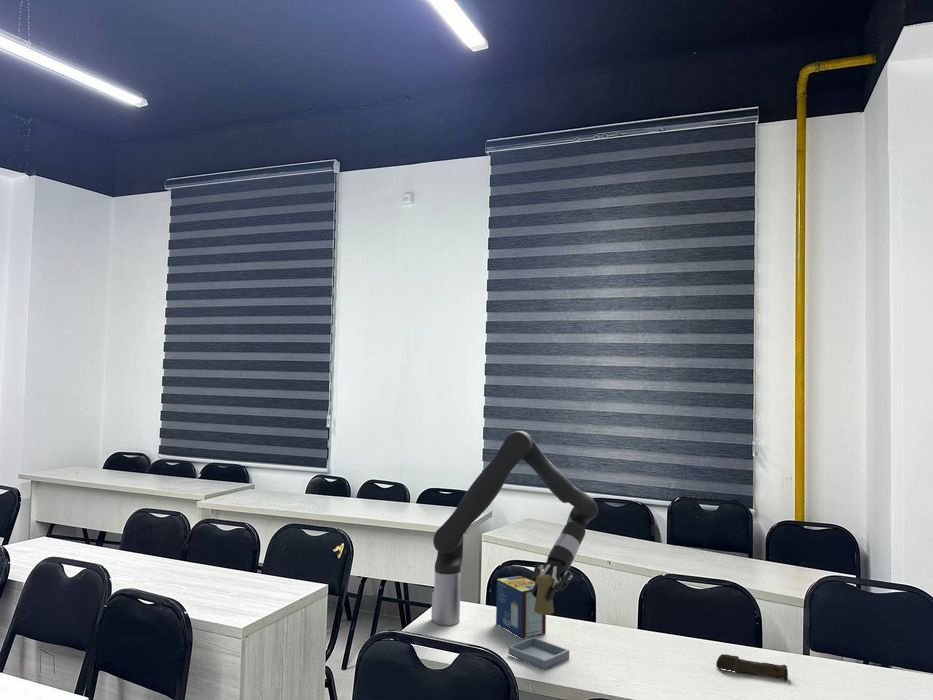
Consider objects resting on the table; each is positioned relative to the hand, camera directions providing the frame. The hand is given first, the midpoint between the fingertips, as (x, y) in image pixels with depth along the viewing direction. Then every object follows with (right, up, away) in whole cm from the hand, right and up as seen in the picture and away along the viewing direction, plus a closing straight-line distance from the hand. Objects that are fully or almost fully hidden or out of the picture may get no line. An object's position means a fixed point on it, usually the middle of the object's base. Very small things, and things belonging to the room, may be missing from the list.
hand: (540, 597), depth 191 cm
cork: (+1, -5, +1) cm, 5 cm away
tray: (-1, -17, -2) cm, 18 cm away
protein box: (-4, -20, +21) cm, 29 cm away
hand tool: (+60, -19, -10) cm, 64 cm away
